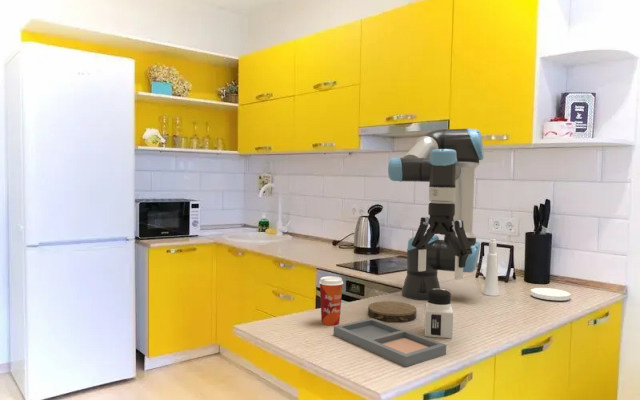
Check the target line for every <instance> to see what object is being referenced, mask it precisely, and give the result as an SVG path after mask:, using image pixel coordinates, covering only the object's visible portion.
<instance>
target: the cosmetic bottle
mask: <svg viewBox="0 0 640 400" xmlns="http://www.w3.org/2000/svg"><path fill="white" fill-rule="evenodd" d="M497 243H498V242H497V239H495V238H490V239H489V242H488V253H487V257H486V269H485V270H486V271H485V280H484V286H483V292H482V294H483V295H484V296H489V297H497V296H500V291H499V276H498V274H499V272H498V266H499V265H498V253H497Z"/></svg>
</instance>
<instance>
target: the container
mask: <svg viewBox="0 0 640 400" xmlns="http://www.w3.org/2000/svg"><path fill="white" fill-rule="evenodd" d="M451 295H452V294H451V292H450V291H449V290H447V289H443V288H440V289H432V290H429V291H428V300H427V303H426V304H424V337H426V338H429V337H430V338H441V339H442V338H443V339H453V332H454V330H453V329H454V326H453V325H454V312H453V307H452V305H451Z"/></svg>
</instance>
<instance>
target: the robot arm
mask: <svg viewBox="0 0 640 400" xmlns="http://www.w3.org/2000/svg"><path fill="white" fill-rule="evenodd" d="M483 160H484V145H483V137H482V133H481V131H480V129H477V128H449V129H448V128H447V129H444V128H441V129H435V130H431V131H429V132H426V133H424V134H422V135H420V136H419V137H417V139H415V141H414V142H413V145H412V148H411V149H409V151H408V152H407V153H406V154H405V155H404V156H403V157H392V158H390V159H389V161H388V165H387V169H388V170H387V172H388V178H389V180H391V181H392V182H423V183H425V182H426V183H429V184H428V200H429V203H428V210H427V211H428V212H427V213H428V215H429V217H428V216H426V217H425V216H422V217H421V218H420V222H419V226H418V228H417V230H416V233H415V235H414V236H413V237H410V238H408V241H407V249H406V251H407V256H406V257H407V261H406V277H405V279H404V281H403V286H402V287H401V295H402V296H403V297H405V298H408V299H413V300H421V301H422V300H423V301H428V291H429V290H432V289H441V285H440V281H439V278H438V271H445V272H454V280H461V279H464V273H474V272H475V270H476V268H477V264H478V260H479V255H480V248H481V243H480V242H479V241H477V236H476V235H475V234H474V233H473V225H474V224H473V223H474V222H473V221H474V199H475V198H474V196H475V171H476V168H477V167H479V165H480V161H483ZM438 235H441V236H444V237H443V239H440V237H439V236H438Z"/></svg>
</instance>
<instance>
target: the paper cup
mask: <svg viewBox="0 0 640 400" xmlns="http://www.w3.org/2000/svg"><path fill="white" fill-rule="evenodd" d="M318 283H319V293H320V294H319V295H320V297H319V298H320V316H321V324H323V325H324V326H338V325H340V320H341V307H342V295H343V284H344V281H343V279H342V277H339V276H332V275H331V276H330V275H329V276H322V277H320V279H319V281H318Z"/></svg>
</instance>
